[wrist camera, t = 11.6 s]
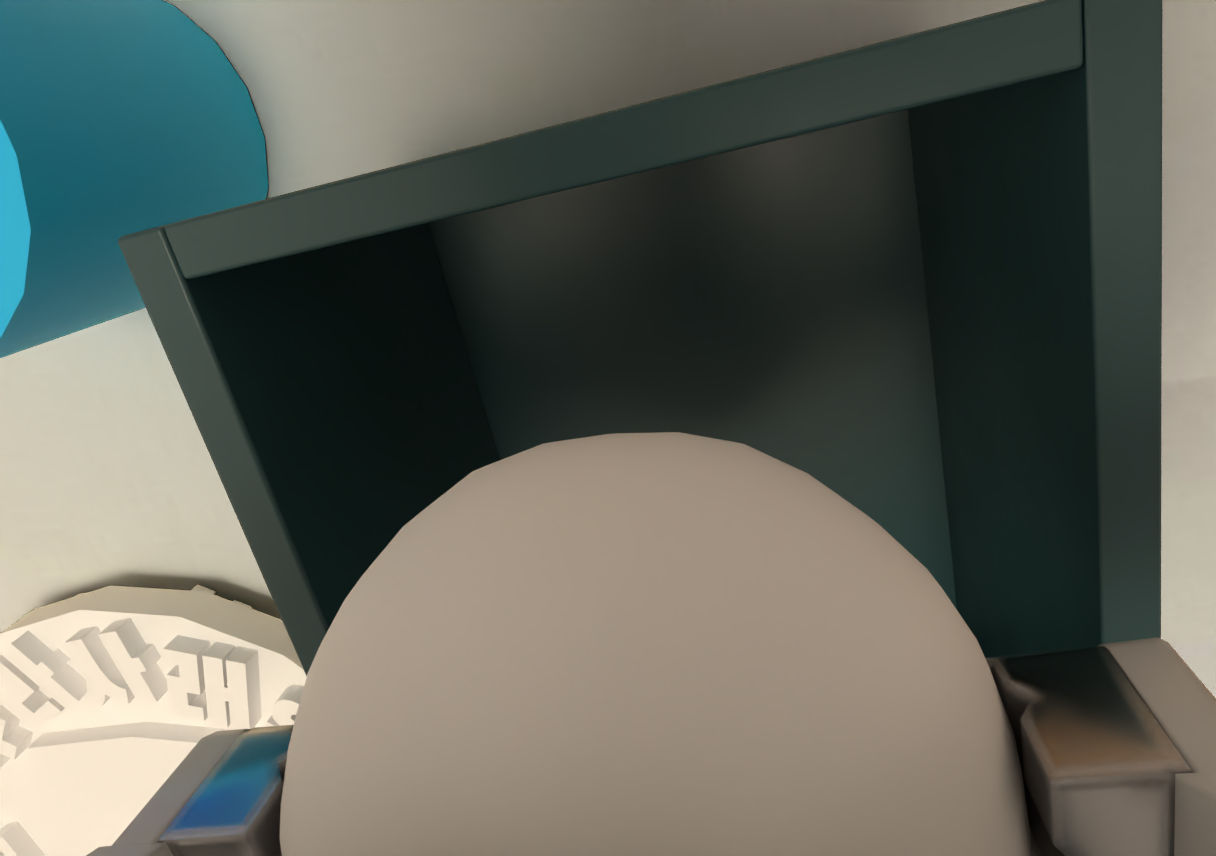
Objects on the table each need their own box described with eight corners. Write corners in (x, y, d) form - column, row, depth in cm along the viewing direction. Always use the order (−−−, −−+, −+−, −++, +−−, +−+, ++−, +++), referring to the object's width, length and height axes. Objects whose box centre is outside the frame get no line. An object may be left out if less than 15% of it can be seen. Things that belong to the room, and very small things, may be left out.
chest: (397, 176, 21) (113, 238, 12) (930, 42, 19) (1164, -31, 9) (552, 680, 27) (452, 1014, 17) (982, 635, 24) (1161, 1005, 14)
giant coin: (-18, 868, 35) (-81, 932, 32) (-8, 493, 27) (-89, 535, 25) (412, 1027, 35) (386, 1104, 32) (544, 698, 27) (524, 763, 25)
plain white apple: (921, 306, 10) (1531, 948, 2) (924, 764, 12) (1223, 1766, 5) (381, 364, 11) (-325, 898, 4) (485, 768, 13) (193, 1567, 6)
